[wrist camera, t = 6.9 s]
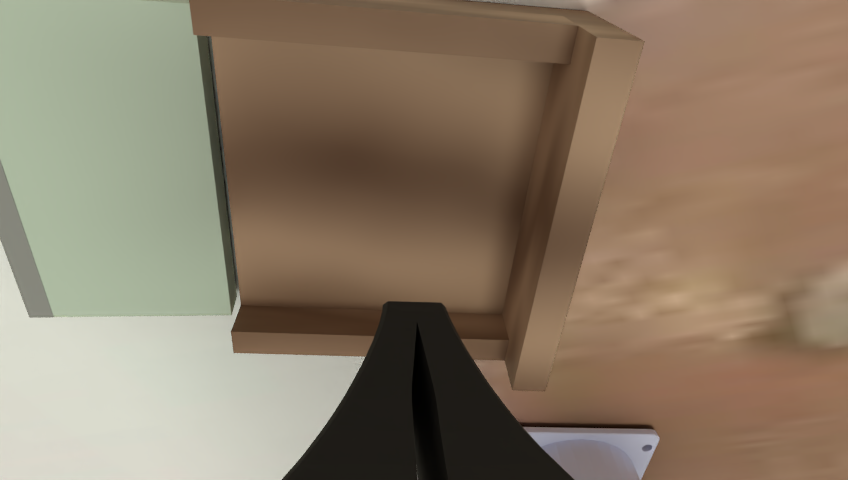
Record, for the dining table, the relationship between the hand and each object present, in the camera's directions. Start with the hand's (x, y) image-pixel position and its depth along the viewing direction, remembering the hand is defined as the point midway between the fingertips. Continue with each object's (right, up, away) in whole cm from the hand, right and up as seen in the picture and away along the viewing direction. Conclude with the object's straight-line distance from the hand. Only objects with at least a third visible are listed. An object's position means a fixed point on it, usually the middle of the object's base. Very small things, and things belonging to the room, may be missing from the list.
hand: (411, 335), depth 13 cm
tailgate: (-7, +4, +5) cm, 9 cm away
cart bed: (-1, +5, +7) cm, 8 cm away
